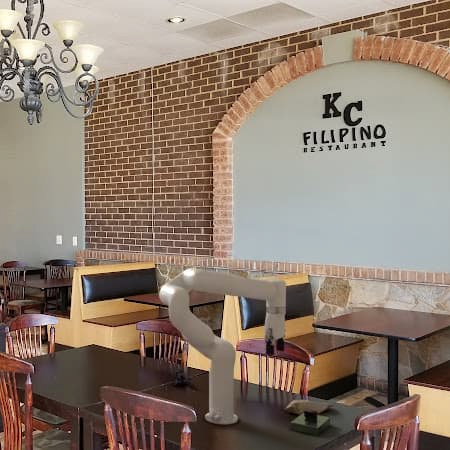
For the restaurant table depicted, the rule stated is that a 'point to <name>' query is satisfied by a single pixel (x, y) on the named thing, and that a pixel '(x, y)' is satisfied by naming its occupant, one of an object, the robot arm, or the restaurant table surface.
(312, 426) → the panel
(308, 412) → the dial
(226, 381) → the robot arm
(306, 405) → the stone
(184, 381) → the toy
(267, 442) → the restaurant table surface
